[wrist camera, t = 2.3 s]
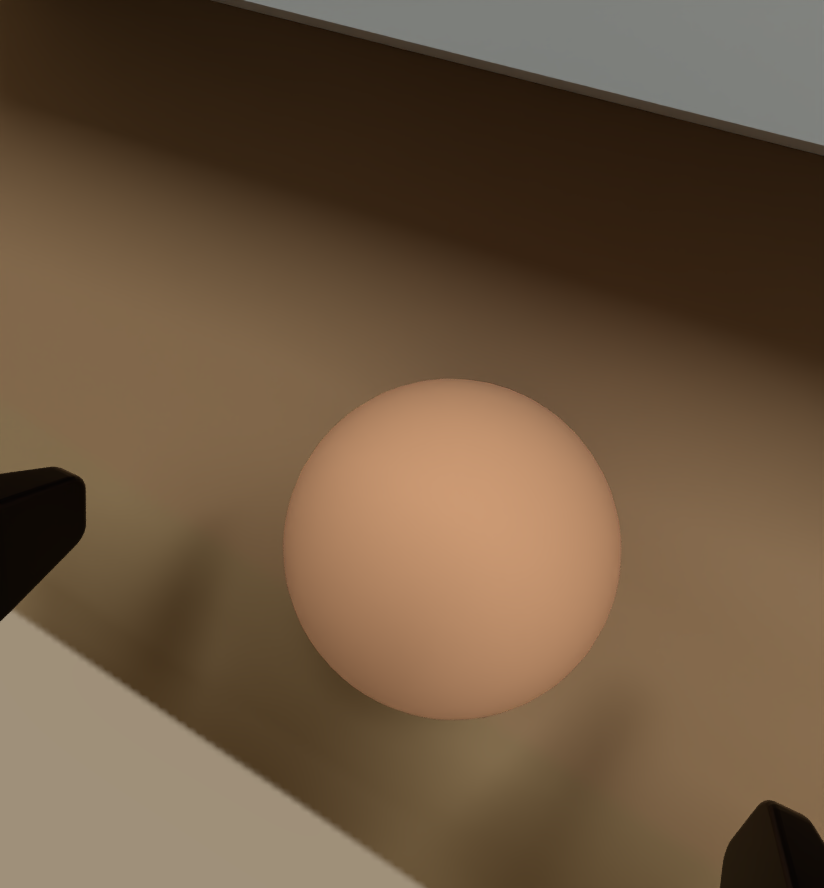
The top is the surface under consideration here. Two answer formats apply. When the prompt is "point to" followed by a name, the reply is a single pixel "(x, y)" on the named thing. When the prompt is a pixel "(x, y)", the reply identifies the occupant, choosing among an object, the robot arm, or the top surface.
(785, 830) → the robot arm
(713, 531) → the top surface
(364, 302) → the top surface
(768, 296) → the top surface
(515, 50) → the gray wall
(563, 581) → the ball
